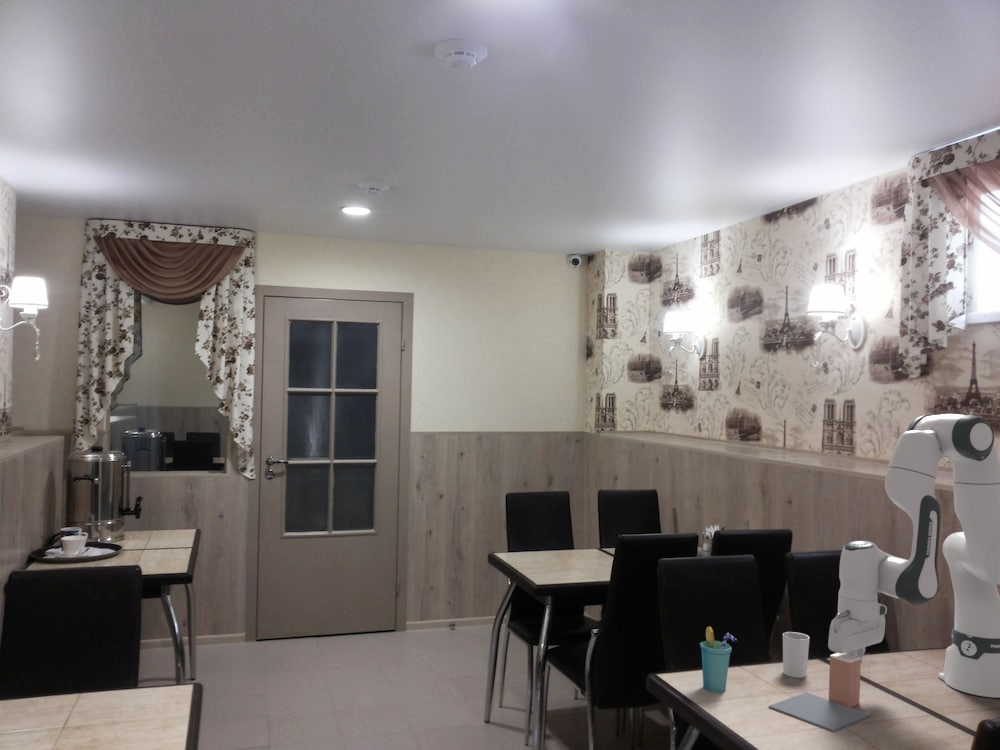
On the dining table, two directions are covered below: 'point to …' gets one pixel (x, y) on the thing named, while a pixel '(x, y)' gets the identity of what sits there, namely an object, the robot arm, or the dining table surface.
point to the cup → (715, 661)
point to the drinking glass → (795, 654)
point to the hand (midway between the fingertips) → (855, 665)
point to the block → (844, 679)
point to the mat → (819, 711)
